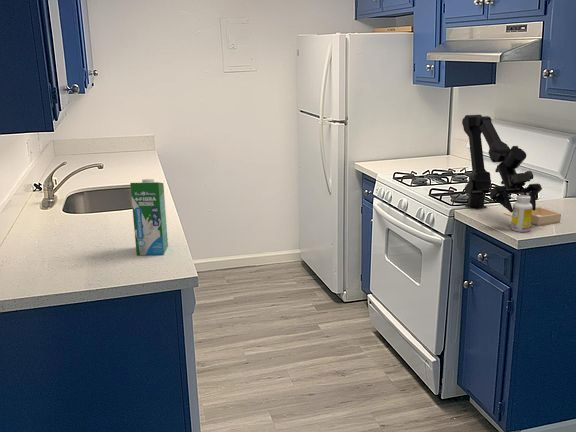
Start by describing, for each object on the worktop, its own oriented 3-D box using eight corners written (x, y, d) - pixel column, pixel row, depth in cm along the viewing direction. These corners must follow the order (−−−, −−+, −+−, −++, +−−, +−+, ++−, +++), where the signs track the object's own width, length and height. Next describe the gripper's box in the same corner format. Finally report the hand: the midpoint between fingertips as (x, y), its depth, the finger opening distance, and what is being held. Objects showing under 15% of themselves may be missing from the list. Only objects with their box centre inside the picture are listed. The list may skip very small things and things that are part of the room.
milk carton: (168, 246, 204) (163, 176, 197) (163, 255, 195) (158, 182, 188) (142, 246, 203) (136, 176, 196) (136, 255, 195) (130, 182, 188)
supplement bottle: (531, 228, 218) (535, 195, 214) (528, 233, 212) (532, 199, 209) (512, 226, 221) (515, 193, 217) (509, 230, 216) (512, 197, 212)
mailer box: (503, 213, 237) (504, 205, 236) (525, 210, 241) (525, 202, 240) (538, 225, 221) (539, 217, 220) (560, 222, 225) (561, 213, 224)
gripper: (496, 164, 213) (510, 201, 205) (541, 162, 216) (557, 198, 209) (483, 181, 222) (496, 217, 215) (527, 178, 226) (541, 213, 219)
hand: (523, 211), depth 214 cm, fingers open, 9 cm apart
